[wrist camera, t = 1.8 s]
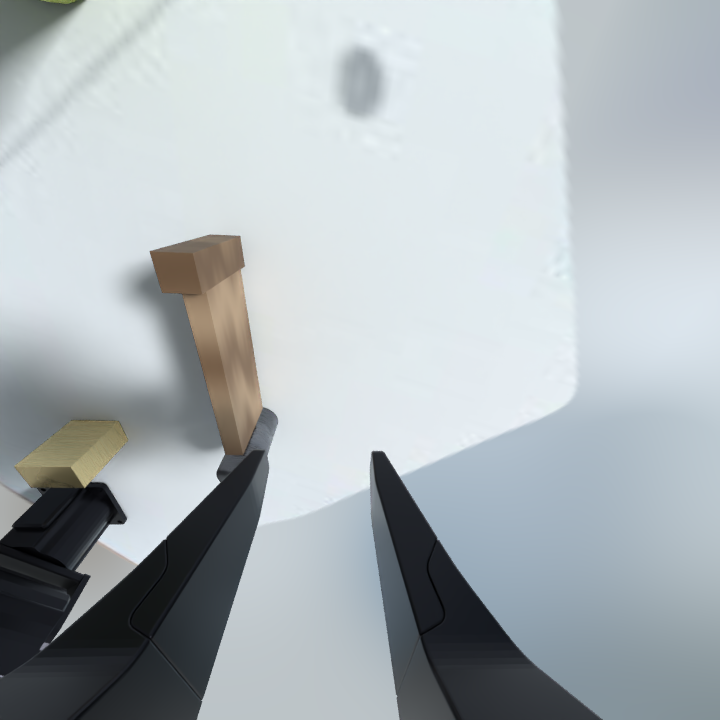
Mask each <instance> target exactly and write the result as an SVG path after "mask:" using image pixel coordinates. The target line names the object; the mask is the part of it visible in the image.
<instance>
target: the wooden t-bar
mask: <svg viewBox="0 0 720 720" xmlns="http://www.w3.org/2000/svg"><path fill="white" fill-rule="evenodd" d="M150 254H151V258H152V261H153V264H154V268H155V271H156V274H157V277H158V281H159V284H160V287H161V291H162V293H181V294H182V295H183V299H184V303H185V306H186V310H187V314H188V318H189V321H190V325H191V329H192V332H193V336H194V340H195V344H196V347H197V351H198V355H199V358H200V362H201V366H202V369H203V373H204V377H205V381H206V384H207V388H208V392H209V395H210V399H211V403H212V407H213V410H214V414H215V418H216V421H217V425H218V429H219V433H220V436H221V440H222V444H223V447H224V451H225V455H243V454H244V452H245V449H246V447H247V445H248V442H249V440H250V438H251V435H252V433H253V430H254V428H255V426H256V423H257V421H258V419H259V416H260V414H261V411H262V409H263V408H262V401H261V395H260V389H259V382H258V376H257V370H256V364H255V357H254V351H253V345H252V339H251V332H250V326H249V320H248V313H247V307H246V301H245V295H244V288H243V282H242V276H241V270H240V269H241V268H243V267H244V266H245V265H244V258H243V252H242V245H241V239H240V236H229V235H207V236H203V237H200V238H196V239H193V240H189V241H185V242H182V243H178V244H175V245H171V246H167V247H164V248H160V249H156V250H153V251H150Z"/></svg>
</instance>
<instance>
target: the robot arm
mask: <svg viewBox="0 0 720 720" xmlns="http://www.w3.org/2000/svg"><path fill="white" fill-rule="evenodd" d="M268 473H269V463H268V457H267V452H266V450H264V449H254V450H252V451H251V452H250V453H249V454H248V455H247V456H246V457H245V458H244V459H243V460H242V461H241V462H240V463H239V464H238V465H237V466H236V467H235V469H234V470H233V471H232V472H231V473H230V474H229V475H228V476H227V477H226V478H225V479H224V480H223V481H222V482H221V483H220V484H219V485H218V486H217V487H216V488H215V489H214V490H213V491H212V492H211V493H210V494H209V495H208V496H207V497H206V498H205V499H204V500H203V501H202V502H201V503H200V504H199V505H198V506H197V507H196V508H195V509H194V510H193V511H192V512H191V513H190V514H189V515H188V516H187V517H186V518H185V519H184V520H183V521H182V522H181V523H180V524H179V525H178V526H177V527H176V528H175V529H174V530H173V531H172V532H171V533H170V534H169V535H168V536H167V538H166V539H165V540H163V541H162V542H161V543H160V544H159V545H158V546H157V547H156V548H155V549H154V550H153V551H152V552H151V553H150V554H149V555H148V556H147V557H146V558H145V559H144V560H143V561H142V562H141V563H140V564H139V565H138V566H137V567H136V568H135V569H134V570H133V571H132V572H130V573H129V574H128V575H127V576H126V577H125V578H124V579H123V580H122V581H121V582H120V583H118V584H117V585H116V586H115V587H114V588H113V589H112V590H111V591H110V592H108V593H107V594H106V595H105V596H104V597H103V598H102V599H101V600H99V601H98V602H97V603H96V604H95V605H94V606H93V607H91V608H90V609H89V610H88V611H87V612H86V613H85V614H83V616H81V617H80V618H79V619H78V620H77V621H75V622H74V623H73V624H72V625H71V626H70V627H69V628H67V629H66V630H65V631H64V632H63V633H62V634H61V635H60V636H59V637H57V638H56V639H55V640H54V641H53V642H52V640H53V639H54V637H55V636H56V635H57V633H58V632H59V630H60V629H61V627H62V625H63V623H64V622H65V620H66V619H67V617H68V615H69V613H70V612H71V610H72V608H73V606H74V604H75V603H76V601H77V599H78V597H79V596H80V594H81V592H82V591H83V589H84V587H85V585H86V583H87V582H88V580H89V578H90V575H87V574H81V573H78V572H76V571H75V570H76V569H77V567H78V566H79V565H80V563H81V562H82V561H83V559H84V558H85V557H86V555H87V554H88V553H89V551H90V550H91V549H92V547H93V546H94V544H95V543H96V542H97V540H98V539H99V538H100V536H101V535H102V534H103V532H104V531H105V530H106V528H107V527H108V526H109V524H124V523H125V522H126V520H127V518H126V516H125V514H124V513H123V511H122V509H121V508H120V506H119V505H118V503H117V501H116V500H115V498H114V496H113V495H112V493H111V491H110V490H109V488H108V487H107V486H106V485H105V484H94V483H89V484H88V485H87V486H86V487H85V488H38V490H39V491H40V493H41V494H42V496H41V497H40V498H39V499H38V500H37V501H36V502H35V503H34V504H33V505H32V506H31V507H30V508H29V509H28V510H27V511H26V512H25V513H24V514H23V515H22V516H21V517H20V518H19V519H18V520H17V521H16V522H15V523H14V524H13V525H12V527H13V529H12V530H11V531H10V532H8V534H6V535H5V536H4V538H2V539H1V540H0V720H197V716H198V713H199V710H200V707H201V704H202V701H201V700H202V699H203V696H204V694H205V690H206V687H207V684H208V681H209V678H210V675H211V671H212V668H213V665H214V662H215V659H216V655H217V652H218V649H219V646H220V643H221V640H222V636H223V633H224V630H225V627H226V624H227V620H228V617H229V614H230V611H231V608H232V604H233V601H234V598H235V595H236V592H237V588H238V585H239V582H240V579H241V576H242V572H243V569H244V566H245V563H246V559H247V557H248V553H249V550H250V547H251V544H252V541H253V537H254V534H255V531H256V528H257V525H258V521H259V518H260V513H261V508H262V503H263V498H264V493H265V488H266V483H267V478H268ZM370 494H371V495H370V496H371V518H372V527H373V534H374V541H375V548H376V555H377V563H378V569H379V576H380V584H381V591H382V597H383V604H384V612H385V619H386V626H387V633H388V640H389V647H390V653H391V661H392V667H393V675H394V682H395V689H396V695H397V704H398V710H399V718H400V720H603V719H601V718H600V717H599V716H597V715H596V714H595V713H594V712H593V711H591V710H590V709H589V708H588V707H586V706H585V705H584V704H583V703H581V702H580V701H579V700H578V699H577V698H575V697H574V696H573V695H572V694H570V693H569V692H568V691H567V690H565V689H564V688H563V687H561V686H560V685H559V684H558V683H557V682H556V681H554V680H553V679H552V678H551V677H549V676H548V675H547V674H546V673H544V672H543V671H542V670H541V669H539V668H538V667H537V666H536V665H535V664H534V663H533V662H531V661H530V660H529V659H528V658H527V657H526V656H525V655H524V654H523V653H522V652H521V650H520V649H519V648H518V647H517V646H516V645H515V644H514V642H513V641H512V640H511V639H510V637H509V636H508V635H507V634H506V632H505V631H504V630H503V628H502V627H501V626H500V625H499V623H498V622H497V621H496V619H495V618H494V617H493V615H492V614H491V613H490V612H489V610H488V609H487V608H486V606H485V605H484V604H483V602H482V601H481V600H480V598H479V597H478V596H477V595H476V593H475V592H474V591H473V589H472V588H471V587H470V585H469V584H468V583H467V581H466V580H465V578H464V577H463V576H462V574H461V573H460V572H459V570H458V569H457V567H456V566H455V564H454V563H453V561H452V560H451V558H450V557H449V555H448V554H447V552H446V551H445V549H444V547H443V546H442V544H441V543H440V541H439V540H437V536H436V535H435V533H434V532H433V530H432V528H431V527H430V525H429V523H428V522H427V520H426V519H425V517H424V515H423V514H422V512H421V511H420V509H419V508H418V506H417V504H416V503H415V501H414V499H413V498H412V496H411V495H410V493H409V491H408V490H407V489H406V487H405V485H404V484H403V482H402V480H401V479H400V477H399V475H398V474H397V472H396V471H395V469H394V467H393V466H392V464H391V463H390V461H389V459H388V458H387V456H386V455H385V453H384V452H383V451H373V452H372V453H371V462H370Z"/></svg>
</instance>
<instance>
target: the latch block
mask: <svg viewBox="0 0 720 720" xmlns="http://www.w3.org/2000/svg"><path fill="white" fill-rule="evenodd" d="M127 441H128V439H127V437H126V435H125V433H124V431H123V429H122V427H121V425H120V423H119V421H90V420H71V421H70V422H69V423H68V424H66V425H65V426H64V427H63V428H61V429H60V430H59V431H58V432H56V433H55V434H54V435H53V436H51V437H50V438H49V439H48V440H46V441H45V442H44V443H43V444H41V445H40V446H39V447H38V448H36V449H35V450H34V451H33V452H31V453H30V454H29V455H28V456H26V457H25V458H24V459H23V460H21V461H20V462H19V463H18V464H16V465H15V466H14V467H15V468H16V470H17V471H18V472H19V473H20V475H21V476H22V477H23V478H24V479H25V481H26V482H27V483H28V484H29V486H30V487H31V488H85V487H86V486H87V485H88V484H89V483H90V482H91V481H92V480H93V478H94V477H95V476H96V475H97V474H98V473H99V472H100V471H101V470H102V469H103V467H104V466H105V465H106V464H107V463H108V462H109V461H110V460H111V459H112V458H113V457H114V455H115V454H116V453H117V452H118V451H119V450H120V449H121V448H122V447H123V446H124V445H125V443H126V442H127Z"/></svg>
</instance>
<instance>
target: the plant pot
mask: <svg viewBox="0 0 720 720" xmlns="http://www.w3.org/2000/svg"><path fill="white" fill-rule="evenodd" d="M41 1H47V2H54V3H63V4H68V3H71V2H75V1H77V0H41Z"/></svg>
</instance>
